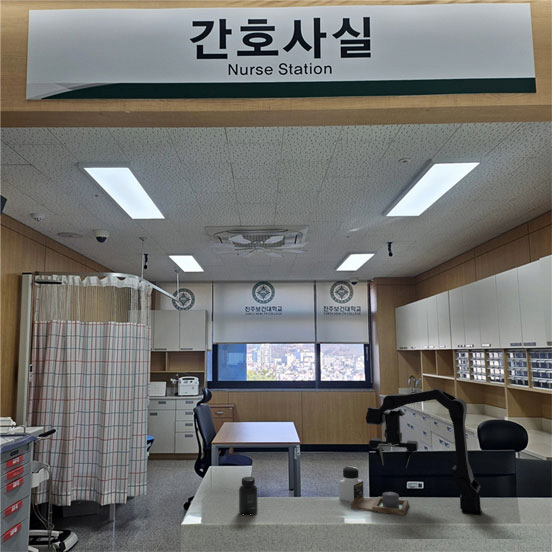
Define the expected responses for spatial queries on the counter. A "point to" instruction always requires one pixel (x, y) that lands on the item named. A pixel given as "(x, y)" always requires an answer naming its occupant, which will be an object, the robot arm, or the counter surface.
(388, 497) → the cap
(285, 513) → the counter surface
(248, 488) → the supplement bottle
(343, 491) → the medicine bottle
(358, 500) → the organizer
